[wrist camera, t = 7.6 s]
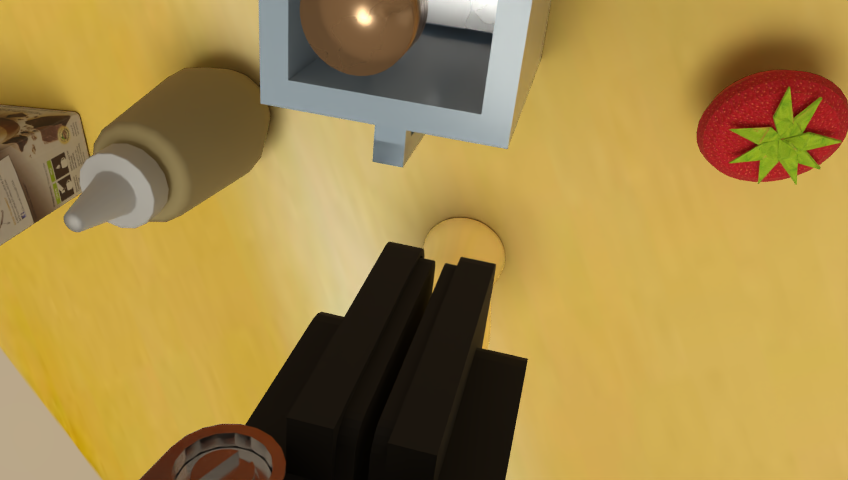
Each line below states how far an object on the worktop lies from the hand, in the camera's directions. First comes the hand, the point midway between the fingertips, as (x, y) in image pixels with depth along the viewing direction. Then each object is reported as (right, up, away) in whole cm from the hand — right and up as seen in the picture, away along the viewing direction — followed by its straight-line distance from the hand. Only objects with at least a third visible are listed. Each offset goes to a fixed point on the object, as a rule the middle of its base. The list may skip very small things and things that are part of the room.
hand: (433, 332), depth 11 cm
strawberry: (+20, +10, +33) cm, 40 cm away
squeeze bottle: (-14, +11, +42) cm, 45 cm away
